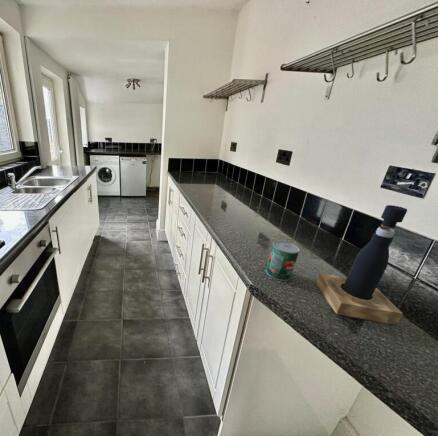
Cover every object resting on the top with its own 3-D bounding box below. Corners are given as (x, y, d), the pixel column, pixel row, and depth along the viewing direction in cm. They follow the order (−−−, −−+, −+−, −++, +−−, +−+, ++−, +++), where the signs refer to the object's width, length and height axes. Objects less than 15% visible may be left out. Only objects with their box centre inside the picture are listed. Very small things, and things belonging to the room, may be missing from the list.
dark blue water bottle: (370, 312, 65) (422, 213, 54) (343, 306, 67) (387, 209, 56) (360, 297, 71) (405, 205, 59) (335, 292, 73) (374, 202, 61)
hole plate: (364, 290, 74) (369, 280, 72) (396, 324, 61) (403, 313, 60) (315, 283, 77) (319, 273, 75) (336, 314, 64) (341, 302, 63)
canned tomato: (290, 284, 76) (300, 255, 72) (264, 276, 79) (272, 248, 75) (290, 271, 82) (299, 244, 78) (266, 265, 86) (273, 238, 82)
